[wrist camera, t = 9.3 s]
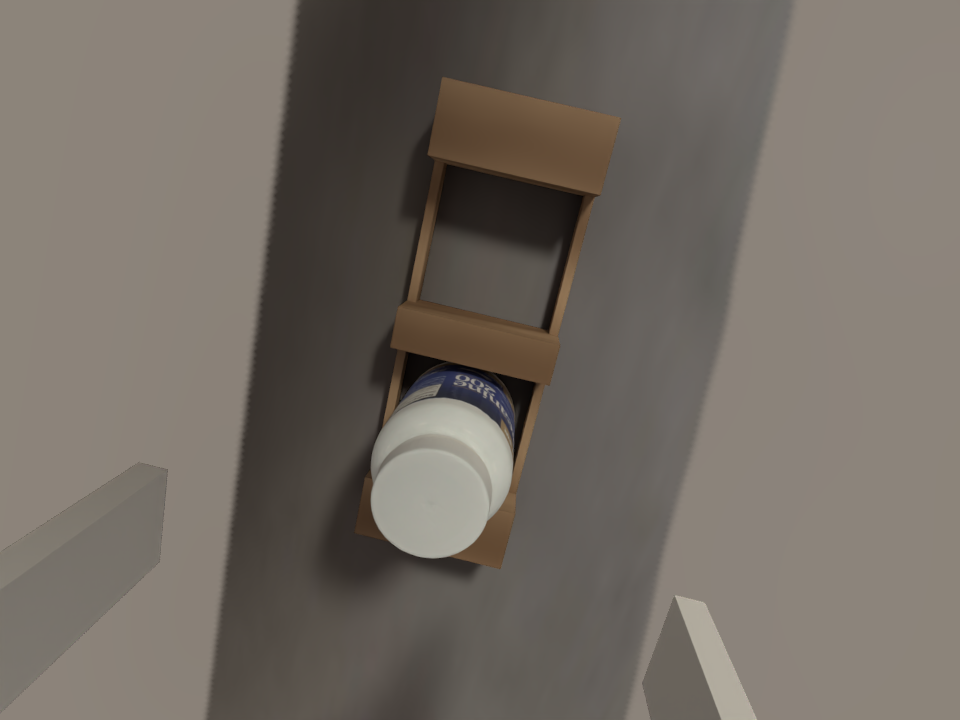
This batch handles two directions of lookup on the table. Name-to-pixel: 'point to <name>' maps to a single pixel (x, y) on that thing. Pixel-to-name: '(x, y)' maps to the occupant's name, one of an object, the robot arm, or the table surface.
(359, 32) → the table surface
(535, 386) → the brown wooden rack
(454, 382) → the pill bottle
